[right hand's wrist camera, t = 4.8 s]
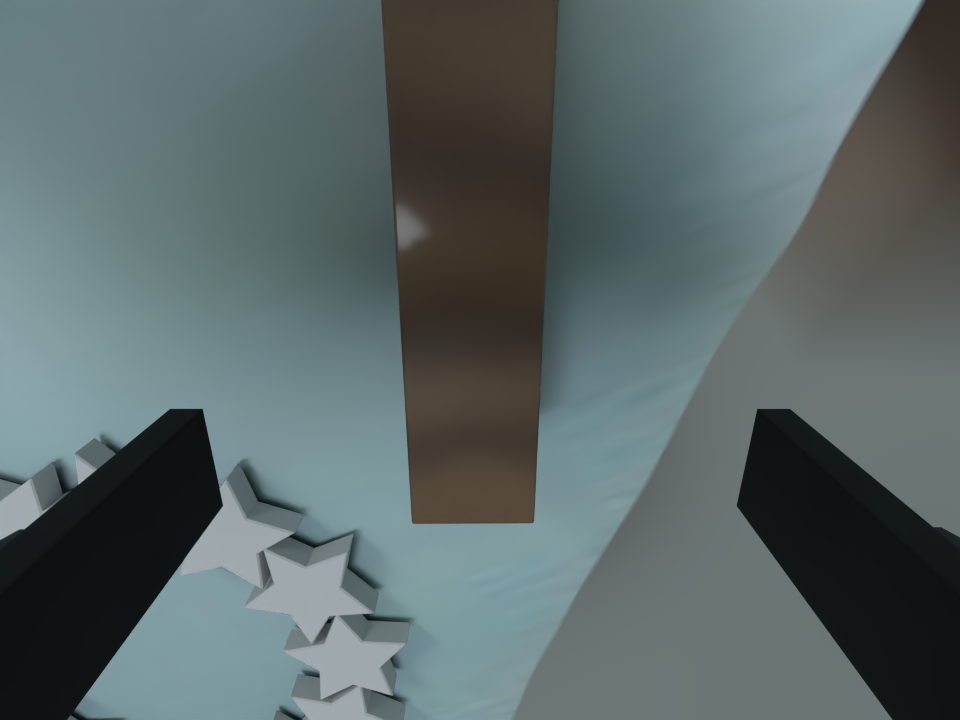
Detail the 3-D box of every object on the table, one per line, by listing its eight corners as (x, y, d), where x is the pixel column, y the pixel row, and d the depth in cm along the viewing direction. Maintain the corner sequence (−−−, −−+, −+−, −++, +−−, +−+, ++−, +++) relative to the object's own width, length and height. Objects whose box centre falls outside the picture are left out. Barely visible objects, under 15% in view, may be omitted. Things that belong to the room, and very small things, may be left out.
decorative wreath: (297, 843, 40) (501, 579, 31) (291, 870, 39) (502, 601, 29) (-129, 710, 34) (-41, 335, 25) (-156, 736, 33) (-74, 347, 23)
